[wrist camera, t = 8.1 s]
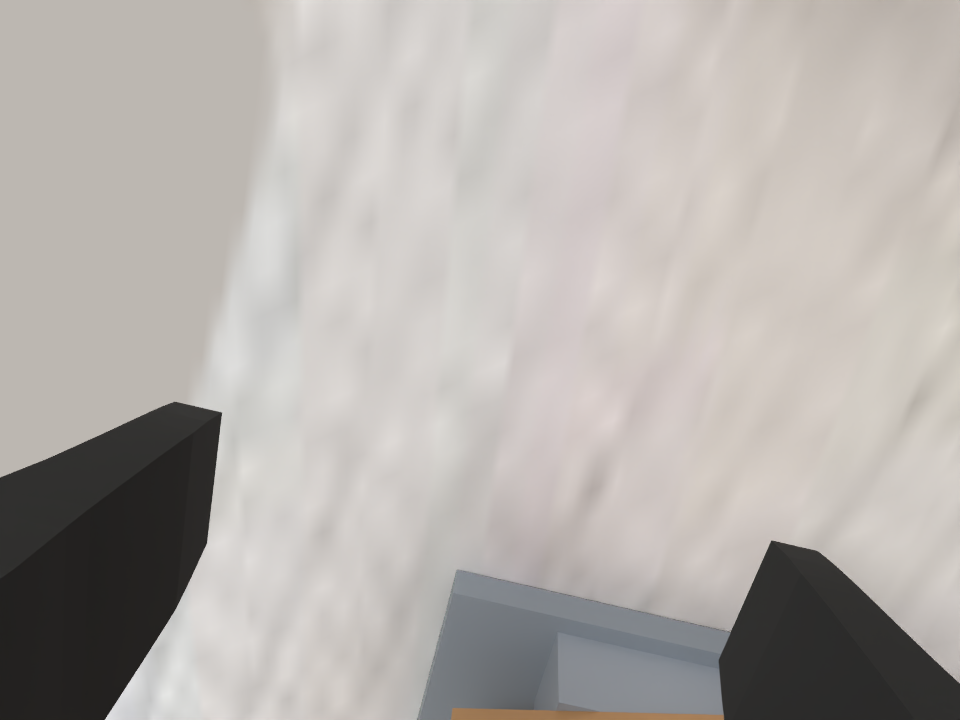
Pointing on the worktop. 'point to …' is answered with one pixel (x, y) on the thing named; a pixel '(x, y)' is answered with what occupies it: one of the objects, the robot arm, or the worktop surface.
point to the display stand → (566, 655)
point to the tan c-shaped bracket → (568, 715)
